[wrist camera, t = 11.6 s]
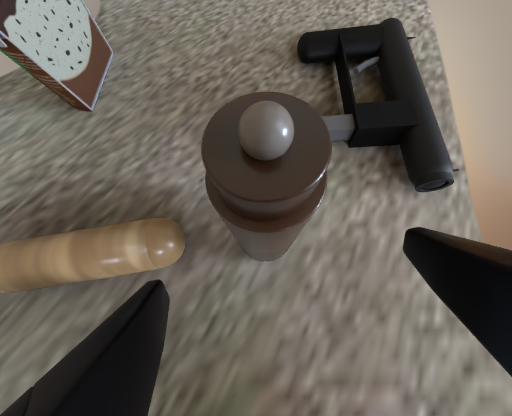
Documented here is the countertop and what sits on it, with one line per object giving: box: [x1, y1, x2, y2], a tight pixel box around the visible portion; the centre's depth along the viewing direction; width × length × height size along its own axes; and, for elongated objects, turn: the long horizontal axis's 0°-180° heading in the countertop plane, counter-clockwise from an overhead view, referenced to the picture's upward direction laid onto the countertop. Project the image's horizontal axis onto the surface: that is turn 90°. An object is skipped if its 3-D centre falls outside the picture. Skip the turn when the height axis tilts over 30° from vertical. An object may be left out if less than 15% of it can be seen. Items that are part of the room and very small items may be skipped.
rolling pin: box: [0, 217, 186, 293], centre depth 17 cm, size 15×4×4 cm, turn 99°
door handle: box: [297, 18, 459, 192], centre depth 22 cm, size 3×20×16 cm
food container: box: [0, 0, 114, 111], centre depth 21 cm, size 12×6×10 cm, turn 178°
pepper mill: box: [201, 92, 332, 261], centre depth 12 cm, size 5×5×14 cm
